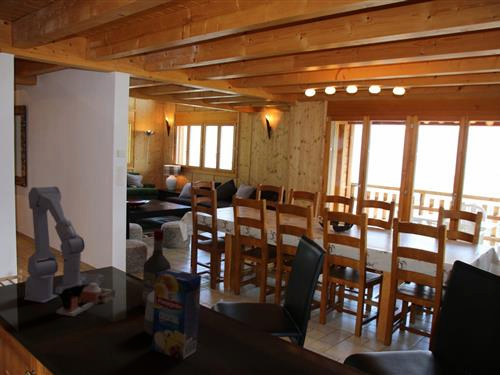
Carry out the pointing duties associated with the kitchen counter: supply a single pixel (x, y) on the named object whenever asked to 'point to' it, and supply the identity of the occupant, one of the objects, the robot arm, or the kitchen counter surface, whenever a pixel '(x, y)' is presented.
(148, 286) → the liquor
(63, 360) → the kitchen counter surface
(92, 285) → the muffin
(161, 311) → the juice carton
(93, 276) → the stone block
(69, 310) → the white rails red ends
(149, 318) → the smart speaker
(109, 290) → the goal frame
